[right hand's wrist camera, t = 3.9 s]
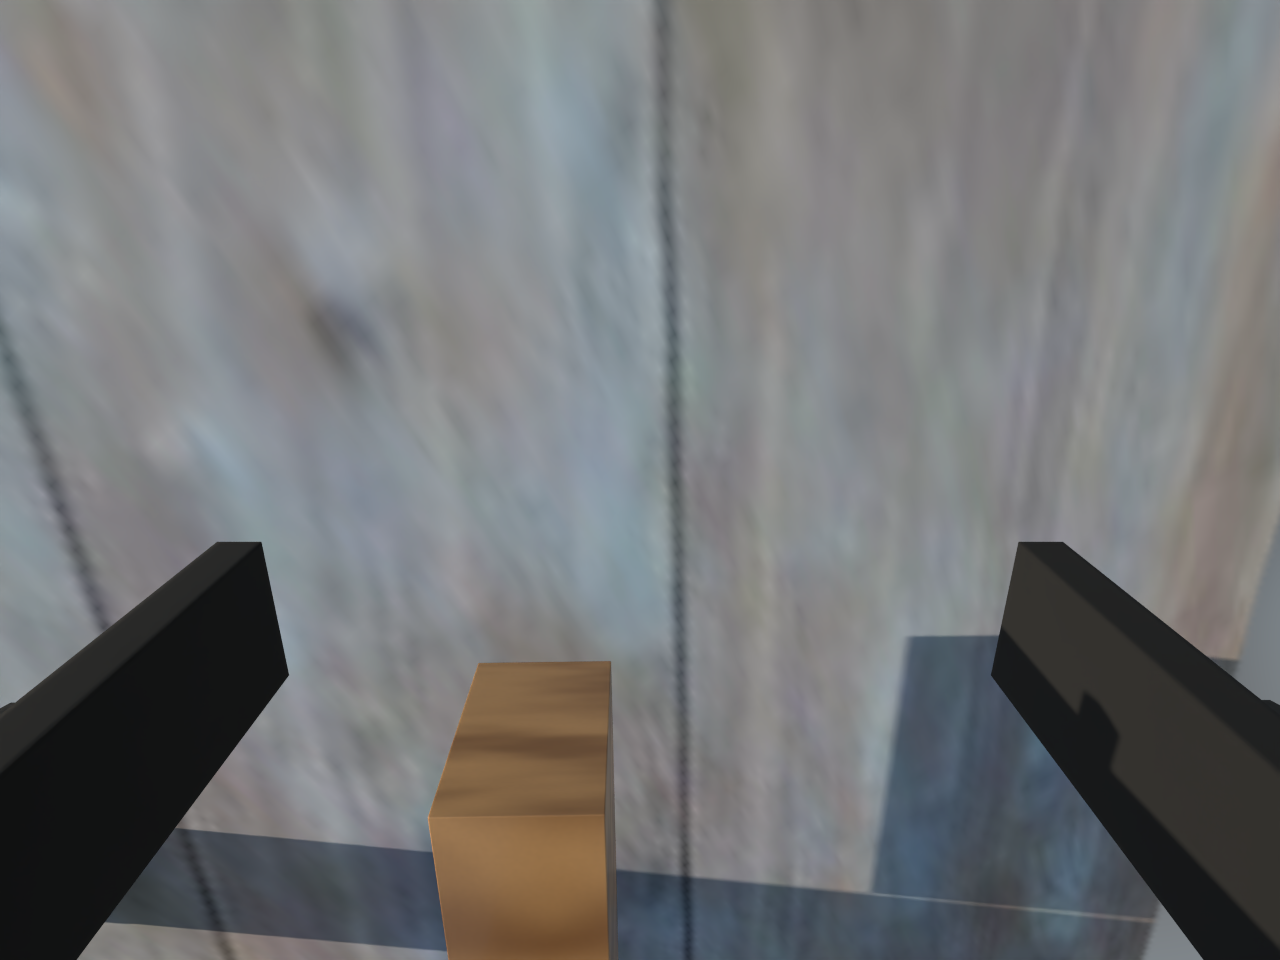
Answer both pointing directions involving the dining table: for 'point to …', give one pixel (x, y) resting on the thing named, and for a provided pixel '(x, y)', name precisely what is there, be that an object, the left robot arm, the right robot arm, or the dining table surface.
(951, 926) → the dining table surface
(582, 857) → the box
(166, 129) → the dining table surface
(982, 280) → the dining table surface
